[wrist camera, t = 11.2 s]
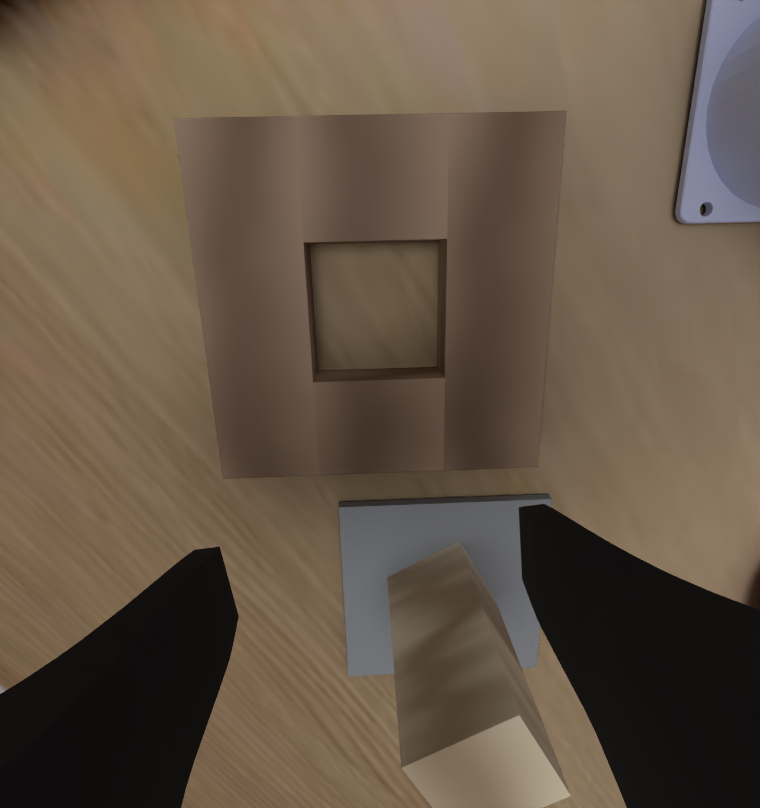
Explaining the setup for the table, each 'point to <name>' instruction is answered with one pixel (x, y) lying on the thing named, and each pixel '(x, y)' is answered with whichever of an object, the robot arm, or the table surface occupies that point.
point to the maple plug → (464, 693)
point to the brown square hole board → (370, 223)
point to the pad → (418, 539)
